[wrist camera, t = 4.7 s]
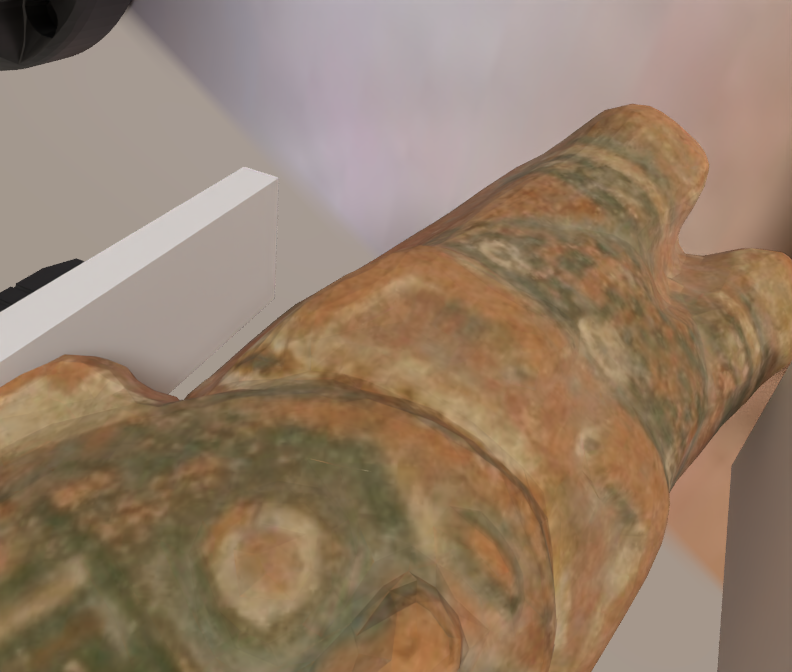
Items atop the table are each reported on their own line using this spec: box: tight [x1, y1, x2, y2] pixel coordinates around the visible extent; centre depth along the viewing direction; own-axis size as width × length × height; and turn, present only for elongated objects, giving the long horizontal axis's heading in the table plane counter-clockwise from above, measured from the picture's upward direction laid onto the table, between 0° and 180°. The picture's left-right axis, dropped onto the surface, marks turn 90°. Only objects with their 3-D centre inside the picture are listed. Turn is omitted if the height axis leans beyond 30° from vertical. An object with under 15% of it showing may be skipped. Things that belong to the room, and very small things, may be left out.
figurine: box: [0, 104, 792, 672], centre depth 10 cm, size 8×8×15 cm
